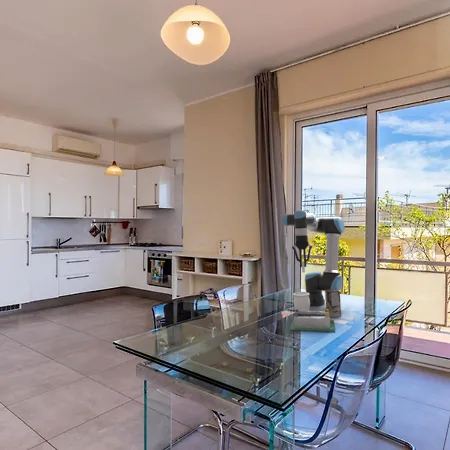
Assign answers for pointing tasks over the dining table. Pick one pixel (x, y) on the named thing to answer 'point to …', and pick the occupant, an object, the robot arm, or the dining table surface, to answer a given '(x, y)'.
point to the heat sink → (313, 322)
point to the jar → (301, 301)
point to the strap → (311, 313)
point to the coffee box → (333, 302)
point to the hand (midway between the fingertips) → (303, 272)
